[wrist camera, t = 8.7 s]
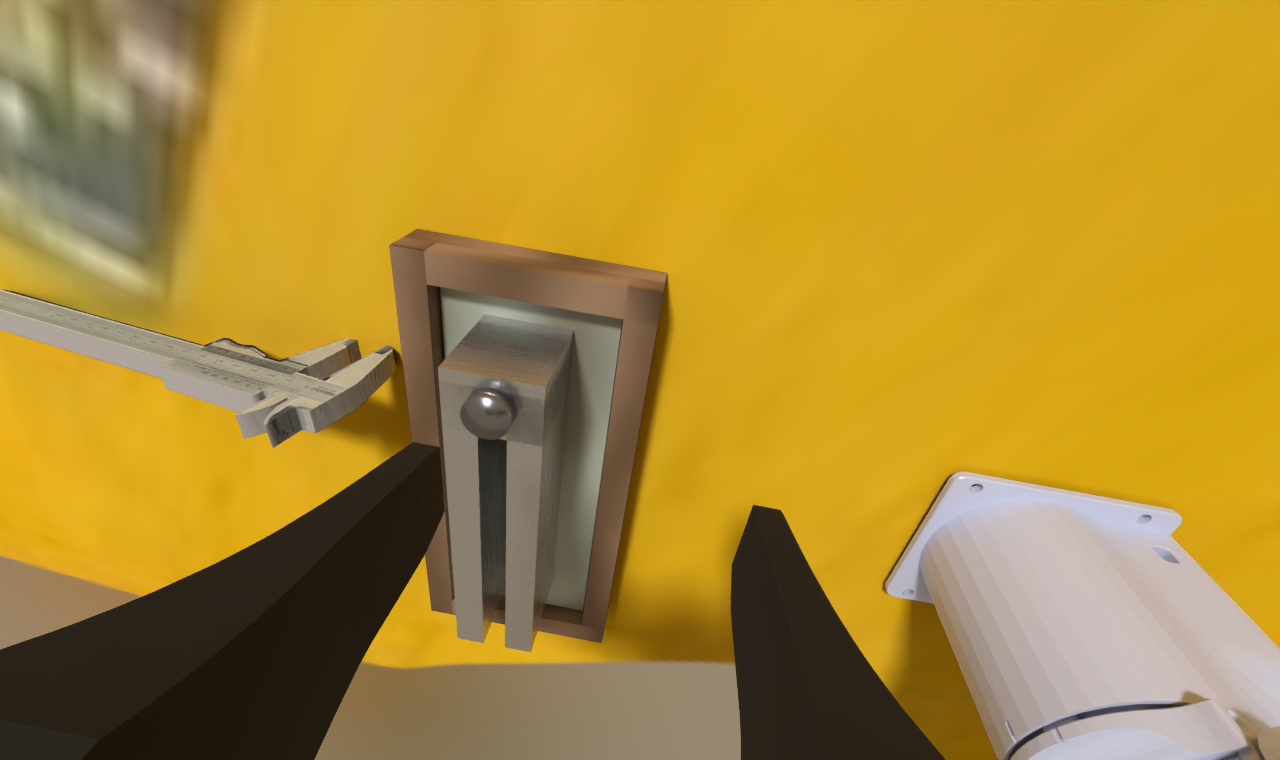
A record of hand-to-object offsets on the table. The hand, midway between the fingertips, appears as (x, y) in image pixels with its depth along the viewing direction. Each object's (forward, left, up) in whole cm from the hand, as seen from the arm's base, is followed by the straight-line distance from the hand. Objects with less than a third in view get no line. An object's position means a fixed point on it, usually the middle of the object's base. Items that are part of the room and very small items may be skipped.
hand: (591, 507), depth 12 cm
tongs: (+4, +8, -9) cm, 12 cm away
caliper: (+20, +4, -10) cm, 23 cm away
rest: (+4, +8, -10) cm, 13 cm away
